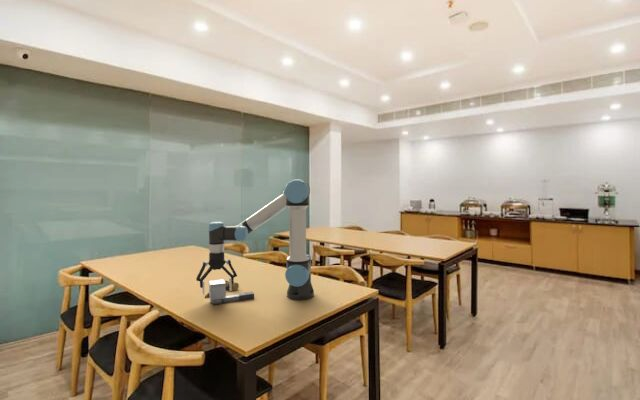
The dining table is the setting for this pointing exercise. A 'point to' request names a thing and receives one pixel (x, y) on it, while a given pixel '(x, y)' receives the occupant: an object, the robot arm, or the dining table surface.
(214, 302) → the ratchet
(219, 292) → the brushed metal cube
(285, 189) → the robot arm
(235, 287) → the gavel
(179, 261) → the dining table surface
